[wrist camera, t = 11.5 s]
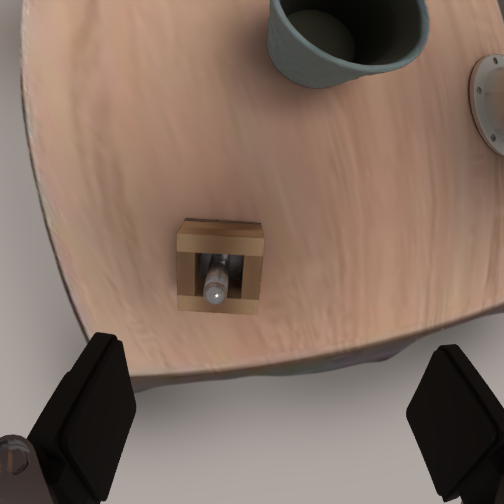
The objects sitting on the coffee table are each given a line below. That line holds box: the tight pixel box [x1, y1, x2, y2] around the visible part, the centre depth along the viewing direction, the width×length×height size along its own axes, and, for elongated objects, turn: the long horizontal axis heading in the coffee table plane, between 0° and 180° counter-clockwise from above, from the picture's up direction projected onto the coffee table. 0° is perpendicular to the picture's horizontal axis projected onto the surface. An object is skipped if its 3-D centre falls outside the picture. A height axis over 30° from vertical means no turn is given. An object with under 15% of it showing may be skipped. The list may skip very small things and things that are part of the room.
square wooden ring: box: [177, 221, 264, 315], centre depth 29 cm, size 7×7×4 cm
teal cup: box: [267, 0, 430, 88], centre depth 19 cm, size 10×10×12 cm
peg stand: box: [184, 218, 261, 305], centre depth 27 cm, size 7×7×9 cm
